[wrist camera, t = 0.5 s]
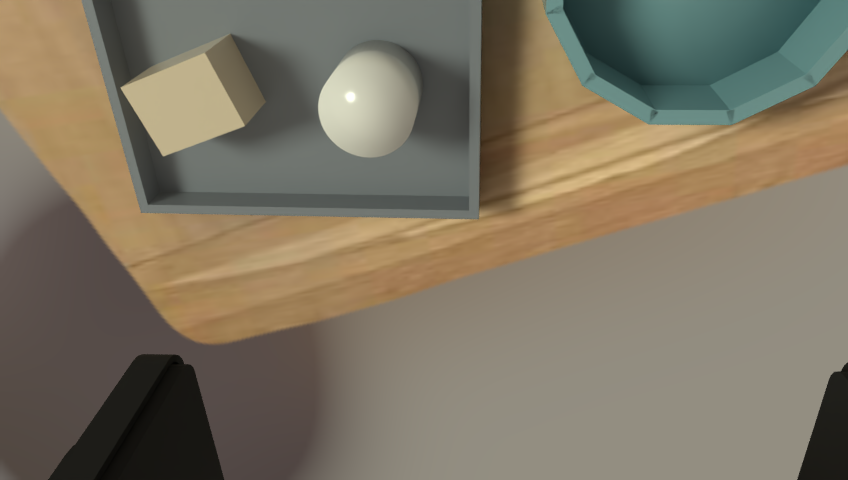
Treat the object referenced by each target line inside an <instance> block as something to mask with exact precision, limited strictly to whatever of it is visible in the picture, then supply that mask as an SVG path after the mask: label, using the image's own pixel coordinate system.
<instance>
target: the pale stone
mask: <svg viewBox="0 0 848 480" xmlns="http://www.w3.org/2000/svg"><path fill="white" fill-rule="evenodd" d="M422 93H423V78H422V74H421V71H420V68H419V66H418V64H417V62H416V61H415V59H414V58H413V57H412V56H411V55H410V54H409V53H408V52H407V51H406V50H405V49H403V48H402V47H400V46H399V45H397V44H394V43H392V42H389V41H384V40H370V41H366V42H363V43H360V44H358V45H356V46H354V47H353V48H352V49H350V50H349V51H348V52H347V53H346V55H345V56H344V57H343V59H342V60H341V61H340V63H339V64H338V66H337V67H336V69H335V70H334V72H333V73H332V75H331V76H330V77H329V79H328V80H327V82H326V83H325V85H324V87H323V89H322V91H321V93H320V97H319V102H318V113H319V118H320V122H321V125H322V127H323V129H324V131H325V132H326V134H327V136H328V137H329V138H330V139H331V140H332V141H333V142H334V143H335V144H336V145H337V146H338V147H340V148H341V149H343V150H344V151H346V152H348V153H350V154H353V155H356V156H360V157H368V158H372V157H380V156H384V155H387V154H389V153H392V152H393V151H395V150H397V149H398V148H399V147H400V146H402V145H403V143H404V142H405V141H406V140H407V138H408V137H409V135H410V133H411V131H412V128H413V125H414V121H415V118H416V114H417V111H418V108H419V104H420V101H421V97H422Z"/></svg>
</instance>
